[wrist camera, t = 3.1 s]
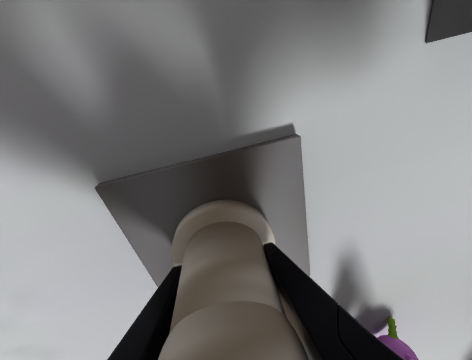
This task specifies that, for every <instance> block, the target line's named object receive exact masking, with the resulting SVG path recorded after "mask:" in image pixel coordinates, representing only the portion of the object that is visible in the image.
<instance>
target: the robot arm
mask: <svg viewBox="0 0 472 360" xmlns="http://www.w3.org/2000/svg"><path fill="white" fill-rule="evenodd" d="M263 247H264V250H265V253H266V256H267V260H268V263H269V266H270V269H271V272H272V275H273V277H274V280H275V283H276V286H277V289H278V292H279V295H280V298H281V302H282V305H283V308H284V311H285V314H286V317H287V319H288V320H289V322H290V323H291V325H292V326H293V328H294V329H295V331H296V332H297V334H298V336H299V338H300V340H301V342H302V344H303V346H304V348H305V351H306V353H307V355H308V358H309V360H404V359H403V358H401V357H400V356H399V355H398V354H396V353H395V352H394V351H392V350H391V349H390V348H389V347H387V346H386V345H385V344H384V343H383V342H381V341H380V340H379V339H378V338H376V337H375V336H374V335H373V334H372V333H370V332H369V331H368V330H367V329H366V328H364V327H363V326H362V325H361V324H360V323H359V322H358V321H357V320H355V319H354V318H353V317H352V316H351V315H350V314H349V313H348V312H347V311H346V310H345V309H343V308H342V307H341V306H340V305H338V303H337V302H336V301H335V300H334V299H333V298H332V297H330V296H329V295H328V294H327V293H326V292H325V291H324V290H323V289H322V288H321V287H320V286H319V285H318V284H317V283H315V282H314V281H313V280H312V279H311V278H310V277H309V276H308V275H307V274H306V273H305V272H304V271H303V270H302V269H300V268H299V267H298V266H297V265H296V264H295V263H294V262H293V261H292V260H291V259H290V258H289V257H288V256H287V255H285V254H284V253H283V252H282V251H281V250H280V249H279V248H278V247H277V246H276V245H275V244H274V243H272V242H269V243H265V244H264V245H263ZM181 269H182V265H179V266H175V267H173V268H172V269H171V270H170V272H169V273H168V275H167V276H166V277H165V279H164V280H163V282H162V283H161V285H160V286H159V287H158V289H157V290H156V292H155V293H154V294H153V296H152V297H151V299H150V300H149V302H148V303H147V304H146V306H145V307H144V309H143V310H142V311H141V313H140V314H139V316H138V317H137V318H136V320H135V321H134V323H133V324H132V326H131V327H130V328H129V330H128V331H127V333H126V334H125V335H124V337H123V338H122V340H121V341H120V343H119V344H118V345H117V347H116V348H115V350H114V351H113V352H112V354H111V355H110V357H109V358H108V359H107V360H158V358H159V356H160V353H161V350H162V348H163V346H164V344H165V342H166V340H167V338H168V336H169V333H170V328H171V322H172V317H173V312H174V306H175V301H176V296H177V290H178V285H179V280H180V274H181Z"/></svg>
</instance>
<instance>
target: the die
mask: <svg viewBox="0 0 472 360" xmlns="http://www.w3.org/2000/svg"><path fill="white" fill-rule="evenodd" d="M469 32H472V0H434V2H433V7H432V12H431V18H430V23H429V28H428V34H427V39H426V43H428V42H433V41H437V40H441V39H445V38H449V37H453V36H457V35H461V34H465V33H469Z"/></svg>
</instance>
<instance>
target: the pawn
mask: <svg viewBox="0 0 472 360" xmlns="http://www.w3.org/2000/svg"><path fill="white" fill-rule="evenodd" d="M269 242H272V243H274V244H275V239H274V235H273V233H272V230H271V228H270V226H269V223H268V221H267V219H266V218H265V216H264V215H263V214H262V213H261V212H260V211H259V210H257V209H256V208H255V207H253V206H251V205H249V204H247V203H244V202H241V201H236V200H216V201H211V202H207V203H204V204H202V205H200V206H198V207H196V208H194V209H193V210H191V211H190V212H189V213H187V214H186V215H185V216H184V217H183V219H182V220H181V221H180V223H179V225H178V227H177V229H176V232H175V235H174V239H173V242H172V246H171V258H172V262H173V264H174V266H179V265H182V269H181V274H180V280H179V285H178V290H177V296H176V301H175V306H174V312H173V317H172V322H171V328H170V333H169V336H168V338H167V340H166V342H165V344H164V346H163V348H162V350H161V353H160V356H159V358H158V360H309V358H308V355H307V353H306V351H305V348H304V346H303V344H302V342H301V340H300V338H299V336H298V334H297V332H296V331H295V329H294V328H293V326H292V325H291V323H290V322H289V320H288V319H287V317H286V314H285V311H284V308H283V305H282V302H281V298H280V295H279V292H278V289H277V286H276V283H275V280H274V277H273V275H272V272H271V269H270V266H269V263H268V260H267V256H266V253H265V250H264V247H263V245H264V244H265V243H269Z"/></svg>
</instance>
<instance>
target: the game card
mask: <svg viewBox="0 0 472 360" xmlns="http://www.w3.org/2000/svg"><path fill="white" fill-rule="evenodd" d="M388 326H389V329H388V332H389V333H388V335H382V336H379V337H378V339H379V340H380V341H381V342H383V343H384V344H385V345H386V346H387V347H389V348H390V349H391V350H392V351H394V352H395V353H396V354H398V355H399V356H400V357H401V358H403V359H404V360H418V358H417V356H416V355H415V353H414V352H413V351H412V349H411V348H410V347H409V346H408V345H407V344H405V343H404V342H403V341H401V340H400V339H399V338H398V337H397V331H396V327H397V326H396V325H395V319H393V318H388Z"/></svg>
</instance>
